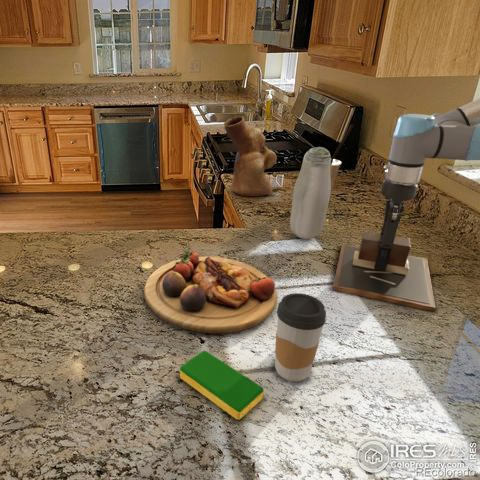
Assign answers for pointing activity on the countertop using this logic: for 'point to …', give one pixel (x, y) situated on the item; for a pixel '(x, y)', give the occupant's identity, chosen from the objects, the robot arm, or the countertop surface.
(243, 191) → the ceramic vessel
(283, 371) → the coffee cup
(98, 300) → the countertop surface
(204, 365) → the dish sponge
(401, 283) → the chalkboard
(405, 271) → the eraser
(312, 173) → the glass bottle
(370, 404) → the countertop surface
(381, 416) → the countertop surface
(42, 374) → the countertop surface
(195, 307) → the wooden plate
